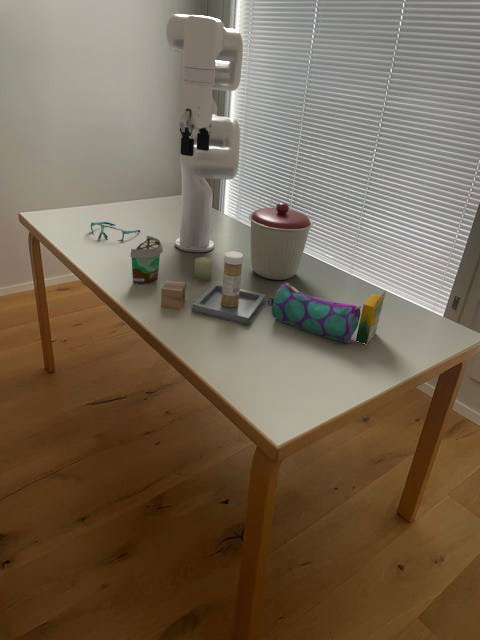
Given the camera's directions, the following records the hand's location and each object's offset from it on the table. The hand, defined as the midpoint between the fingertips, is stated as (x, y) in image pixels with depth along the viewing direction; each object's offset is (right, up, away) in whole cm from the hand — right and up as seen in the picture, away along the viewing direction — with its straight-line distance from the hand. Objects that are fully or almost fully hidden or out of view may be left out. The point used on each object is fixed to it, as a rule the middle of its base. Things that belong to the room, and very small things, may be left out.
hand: (195, 152), depth 125 cm
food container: (-13, -31, +11) cm, 35 cm away
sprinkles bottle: (+9, -38, 0) cm, 39 cm away
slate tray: (+9, -39, 0) cm, 40 cm away
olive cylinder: (+1, -30, +15) cm, 34 cm away
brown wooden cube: (-5, -38, -1) cm, 38 cm away
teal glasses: (-30, -14, +40) cm, 52 cm away
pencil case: (+28, -44, -6) cm, 53 cm away
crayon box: (+41, -46, -7) cm, 62 cm away
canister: (+21, -28, +22) cm, 42 cm away
